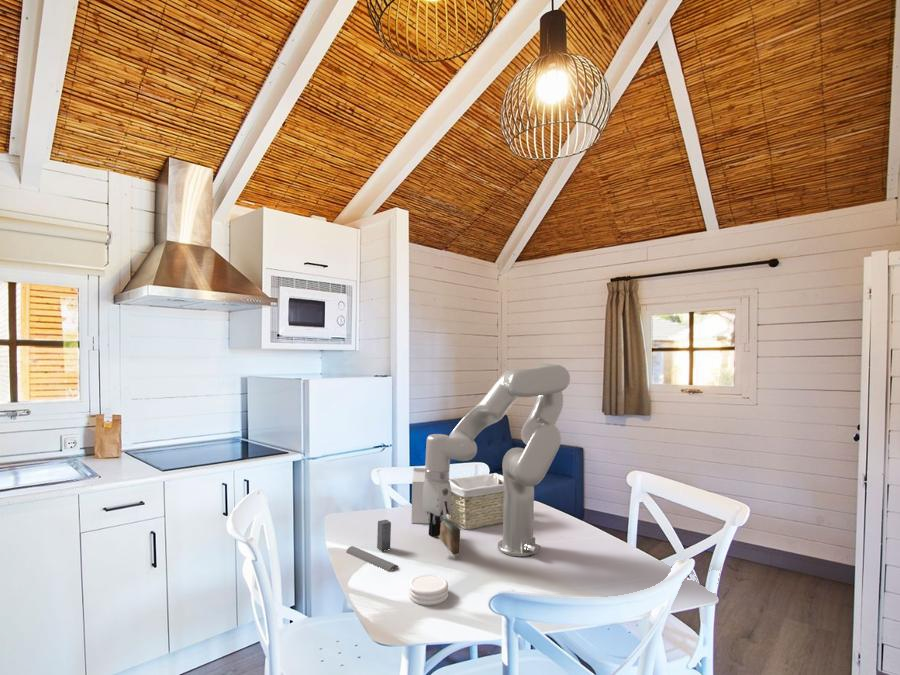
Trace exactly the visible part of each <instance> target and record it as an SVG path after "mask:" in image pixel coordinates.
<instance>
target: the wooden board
mask: <svg viewBox="0 0 900 675" xmlns="http://www.w3.org/2000/svg"><path fill="white" fill-rule="evenodd" d="M438 537H439V538H438V539H439V540H440V541H441V542H442V543H443V544H444V546H446V547H447V548H448V550H449V551H451V554H452V555H460V553H461V552H460V550H461V547H460V546H461V529H460V527H458V525H457V524H455V523H454V522H453V521H451V520H450V519H449V518H448V516H447V520H445V521H442V523H441V526H440V535H439V536H438Z"/></svg>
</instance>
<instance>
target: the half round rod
mask: <svg viewBox="0 0 900 675" xmlns="http://www.w3.org/2000/svg"><path fill="white" fill-rule="evenodd" d="M345 553H346V554H349V555H351V556H352V557H355V558H356V559H359V560H362V561H363V562H365V563H368V564H370V565H372V564H373V566H375V567H377V568H379V567H380V568H379V569H381V568H382V569H381V570H383V569H384V571H386V572H391V571H393V570H395V568H396V569H398V568H399V565H398V564H395V563H393V562H391V561H388V560H386V559H384V558H381V557H379V556H376V555H374V554H373V553H370V552H368V551H365V550H362V549H360V548H358V547H356V546H353V545H351V546H349V547H348V548H347V549H346V552H345ZM397 567H398V568H397ZM392 569H393V570H392ZM390 570H391V571H390Z"/></svg>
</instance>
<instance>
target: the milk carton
mask: <svg viewBox="0 0 900 675" xmlns="http://www.w3.org/2000/svg"><path fill="white" fill-rule="evenodd" d="M412 472H413V473H412V484H411V486H412V487H411V517H410V518H411V520H410V521H411V524H426V525H427V524H428V525H429V521H428V514H427V513H426V512H425V510H424V508H423V506H422V496H423V487H424V481H425V467H413V469H412Z"/></svg>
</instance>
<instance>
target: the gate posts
mask: <svg viewBox="0 0 900 675" xmlns="http://www.w3.org/2000/svg"><path fill="white" fill-rule="evenodd" d="M391 528H392V522H391V521H389V519H381V520H377V534H376V535H377V536H376V539H377V541H376V542H377V544H376V545H377V546H376V548H378V549H379V550H378V549H377V550H378V551H380V550H381V551H383V552H385V551H384V550H388V549H390V550H391V540H392V539H391V537H392V536H391V535H392V534H391V531H392V529H391ZM432 538H433V539H440V538H439V537H438V536H435V537H432ZM381 551H380V552H381ZM388 551H389V550H388Z"/></svg>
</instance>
